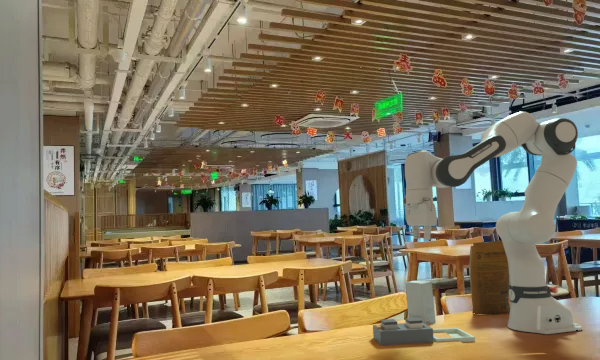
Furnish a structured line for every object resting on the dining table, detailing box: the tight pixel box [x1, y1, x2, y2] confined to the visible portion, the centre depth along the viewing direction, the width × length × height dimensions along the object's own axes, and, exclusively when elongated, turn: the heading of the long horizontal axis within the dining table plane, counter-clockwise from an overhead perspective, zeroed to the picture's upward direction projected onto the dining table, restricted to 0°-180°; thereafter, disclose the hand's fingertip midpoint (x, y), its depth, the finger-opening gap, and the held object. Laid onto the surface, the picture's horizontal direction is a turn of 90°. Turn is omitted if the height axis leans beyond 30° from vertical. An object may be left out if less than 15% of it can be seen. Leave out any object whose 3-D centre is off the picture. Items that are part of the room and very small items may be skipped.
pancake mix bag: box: [468, 240, 510, 315], centre depth 184 cm, size 7×19×28 cm, turn 99°
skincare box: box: [404, 280, 437, 325], centre depth 172 cm, size 8×6×15 cm
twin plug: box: [380, 318, 398, 330], centre depth 144 cm, size 4×4×6 cm
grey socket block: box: [372, 322, 435, 347], centre depth 144 cm, size 16×9×6 cm, turn 95°
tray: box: [433, 327, 476, 343], centre depth 148 cm, size 12×12×2 cm
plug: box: [404, 317, 423, 328], centre depth 145 cm, size 4×4×6 cm
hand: (422, 239), depth 160 cm, fingers open, 8 cm apart
